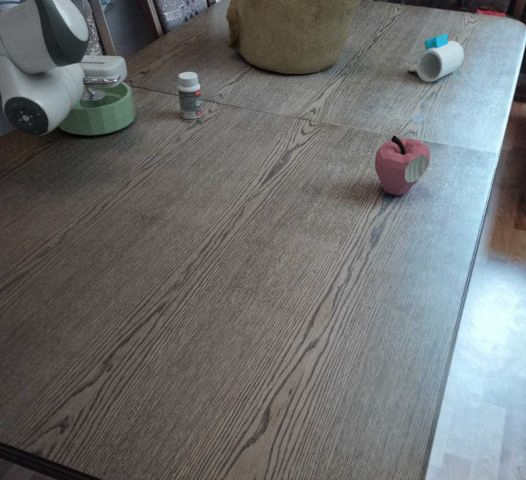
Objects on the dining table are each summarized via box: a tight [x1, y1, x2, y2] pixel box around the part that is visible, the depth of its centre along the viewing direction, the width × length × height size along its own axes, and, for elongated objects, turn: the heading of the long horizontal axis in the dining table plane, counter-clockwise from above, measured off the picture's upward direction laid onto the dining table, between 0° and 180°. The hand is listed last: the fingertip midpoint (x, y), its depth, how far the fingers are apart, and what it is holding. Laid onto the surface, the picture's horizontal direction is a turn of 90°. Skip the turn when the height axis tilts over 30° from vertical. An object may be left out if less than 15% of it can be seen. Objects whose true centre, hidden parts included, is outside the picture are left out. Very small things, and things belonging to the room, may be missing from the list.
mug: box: [408, 33, 465, 83], centre depth 137 cm, size 12×9×12 cm
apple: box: [374, 135, 431, 197], centre depth 96 cm, size 10×9×10 cm
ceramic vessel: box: [225, 0, 363, 75], centre depth 139 cm, size 29×42×25 cm
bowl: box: [57, 81, 136, 136], centre depth 117 cm, size 17×17×6 cm
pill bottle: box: [177, 71, 203, 120], centre depth 118 cm, size 5×5×8 cm
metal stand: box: [80, 50, 107, 108], centre depth 110 cm, size 6×6×16 cm
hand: (85, 55), depth 110 cm, fingers closed on metal stand
